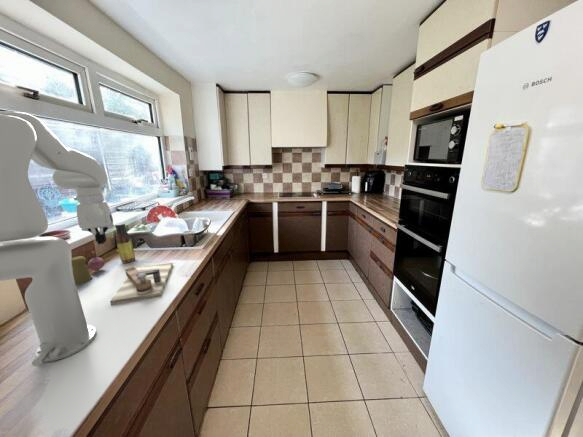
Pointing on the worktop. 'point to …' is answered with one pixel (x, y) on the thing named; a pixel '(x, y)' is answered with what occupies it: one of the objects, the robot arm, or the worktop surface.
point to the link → (138, 279)
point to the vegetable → (96, 262)
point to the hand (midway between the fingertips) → (102, 242)
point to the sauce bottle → (124, 244)
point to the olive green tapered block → (80, 270)
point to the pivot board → (153, 272)
